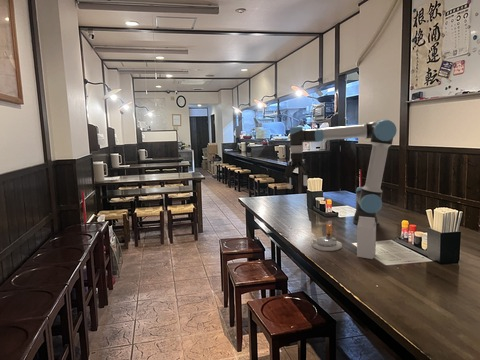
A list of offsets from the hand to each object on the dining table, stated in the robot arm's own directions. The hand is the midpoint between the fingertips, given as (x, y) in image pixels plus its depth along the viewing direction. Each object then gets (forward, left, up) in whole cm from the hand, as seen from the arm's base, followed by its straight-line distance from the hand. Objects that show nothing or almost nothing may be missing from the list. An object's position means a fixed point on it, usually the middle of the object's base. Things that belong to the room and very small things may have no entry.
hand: (297, 187), depth 212 cm
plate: (-23, +28, -26) cm, 44 cm away
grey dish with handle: (-23, +27, -24) cm, 42 cm away
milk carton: (-43, +36, -26) cm, 62 cm away
